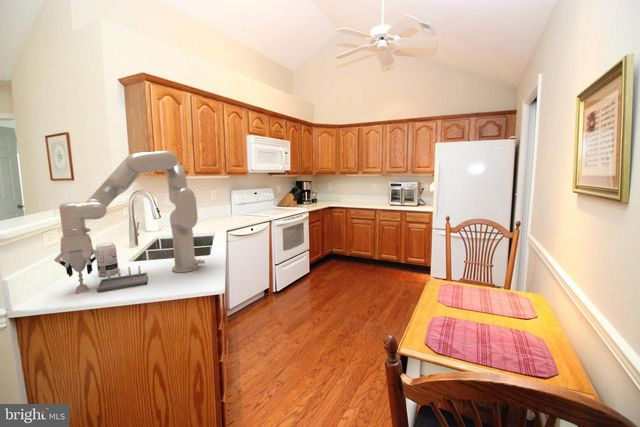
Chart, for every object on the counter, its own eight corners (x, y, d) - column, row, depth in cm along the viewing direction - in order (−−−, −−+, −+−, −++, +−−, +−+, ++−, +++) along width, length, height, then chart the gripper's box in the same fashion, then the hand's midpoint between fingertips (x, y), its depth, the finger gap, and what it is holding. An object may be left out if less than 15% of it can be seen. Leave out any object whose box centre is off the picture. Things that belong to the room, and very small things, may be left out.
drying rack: (147, 276, 143) (146, 264, 142) (146, 284, 133) (145, 271, 132) (101, 283, 135) (100, 270, 134) (97, 292, 124) (95, 279, 123)
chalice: (80, 287, 130) (74, 247, 127) (96, 287, 131) (91, 247, 128) (67, 294, 123) (61, 252, 120) (84, 294, 123) (79, 252, 121)
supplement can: (101, 272, 149) (97, 243, 147) (120, 270, 153) (117, 241, 151) (96, 278, 142) (92, 247, 140) (116, 275, 145) (113, 245, 143)
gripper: (101, 228, 130) (106, 268, 133) (50, 233, 122) (56, 275, 125) (98, 231, 124) (103, 273, 126) (44, 236, 116) (51, 281, 118)
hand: (80, 273), depth 126 cm, fingers closed on chalice, 5 cm apart
